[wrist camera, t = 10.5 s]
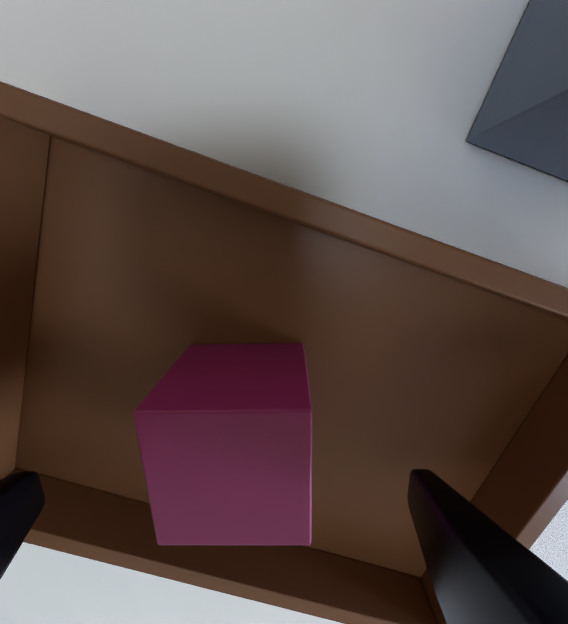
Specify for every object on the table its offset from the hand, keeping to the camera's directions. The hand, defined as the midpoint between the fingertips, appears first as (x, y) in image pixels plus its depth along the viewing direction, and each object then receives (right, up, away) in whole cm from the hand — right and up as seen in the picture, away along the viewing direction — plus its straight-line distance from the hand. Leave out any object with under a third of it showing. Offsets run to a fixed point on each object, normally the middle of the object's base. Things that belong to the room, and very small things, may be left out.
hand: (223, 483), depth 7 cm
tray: (+1, +1, +4) cm, 5 cm away
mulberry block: (0, +1, +4) cm, 4 cm away
